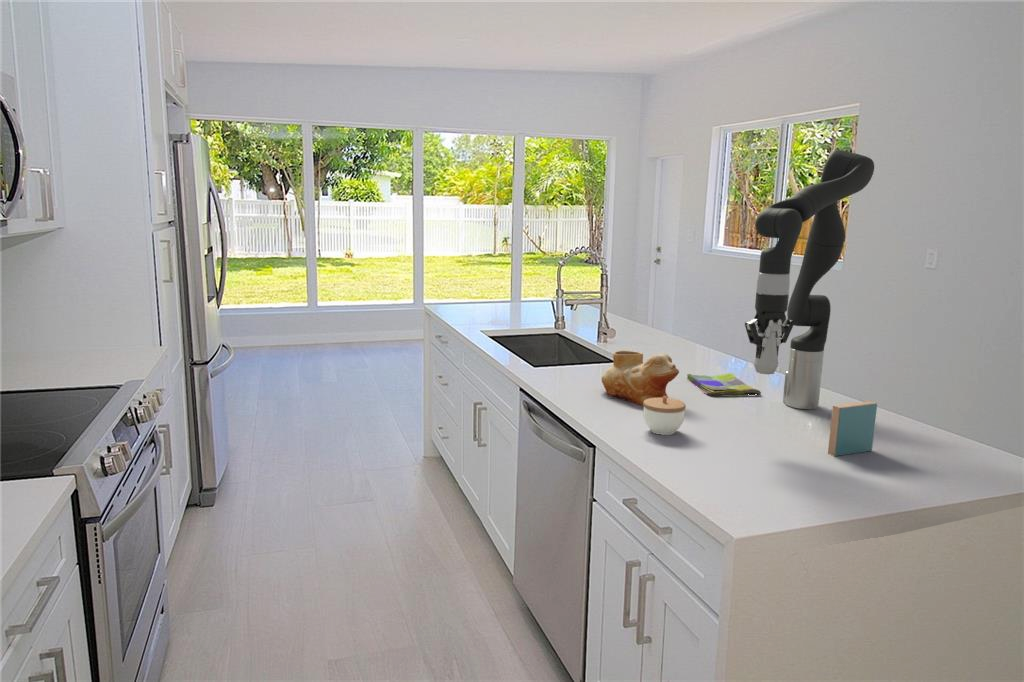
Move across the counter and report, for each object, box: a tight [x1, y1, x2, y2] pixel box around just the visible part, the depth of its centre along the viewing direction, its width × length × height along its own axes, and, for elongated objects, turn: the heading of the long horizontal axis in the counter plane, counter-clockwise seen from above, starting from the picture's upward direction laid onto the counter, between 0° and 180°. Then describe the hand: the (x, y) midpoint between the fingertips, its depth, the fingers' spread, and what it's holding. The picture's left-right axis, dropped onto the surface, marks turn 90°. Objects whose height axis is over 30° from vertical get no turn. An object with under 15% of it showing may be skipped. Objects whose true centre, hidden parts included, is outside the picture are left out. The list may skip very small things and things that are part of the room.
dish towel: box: [686, 373, 762, 396], centre depth 232 cm, size 18×24×3 cm
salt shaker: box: [753, 322, 779, 375], centre depth 176 cm, size 6×6×13 cm
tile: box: [827, 400, 878, 457], centre depth 171 cm, size 2×12×12 cm, turn 113°
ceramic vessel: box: [601, 350, 680, 407], centre depth 216 cm, size 14×26×15 cm, turn 40°
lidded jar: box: [643, 396, 686, 436], centre depth 184 cm, size 11×11×9 cm
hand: (766, 360), depth 176 cm, fingers closed on salt shaker, 3 cm apart
